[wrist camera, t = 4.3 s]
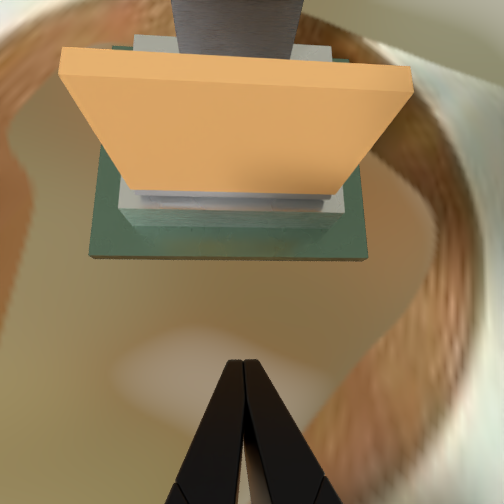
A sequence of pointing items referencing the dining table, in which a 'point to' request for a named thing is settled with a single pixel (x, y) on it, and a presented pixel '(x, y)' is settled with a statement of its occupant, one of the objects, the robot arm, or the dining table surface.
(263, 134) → the tan square pad
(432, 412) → the dining table surface
